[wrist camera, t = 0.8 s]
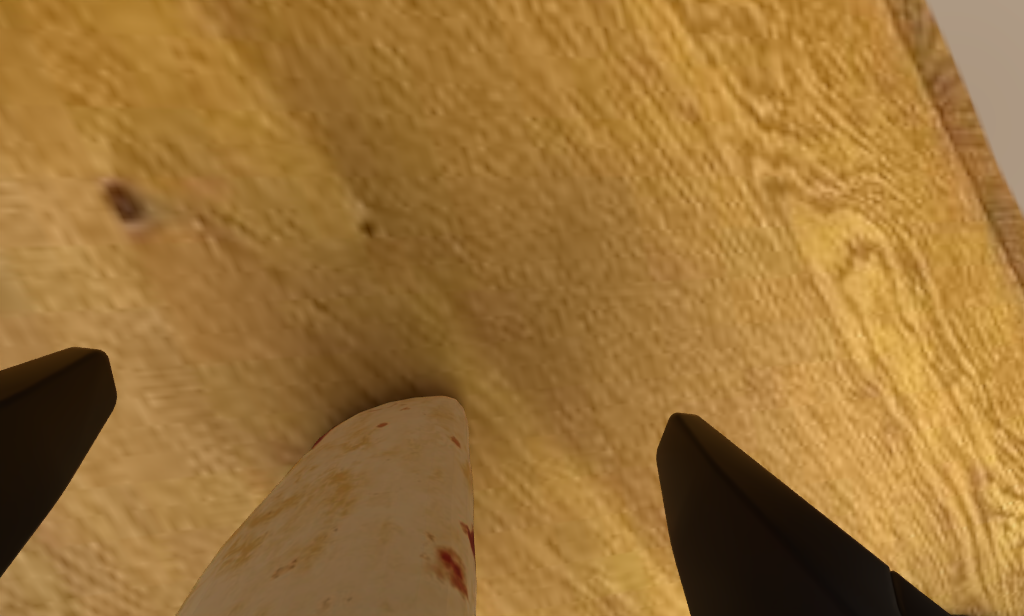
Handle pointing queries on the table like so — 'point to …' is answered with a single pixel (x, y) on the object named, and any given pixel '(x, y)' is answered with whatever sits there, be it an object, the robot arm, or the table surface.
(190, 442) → the table surface
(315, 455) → the food model
